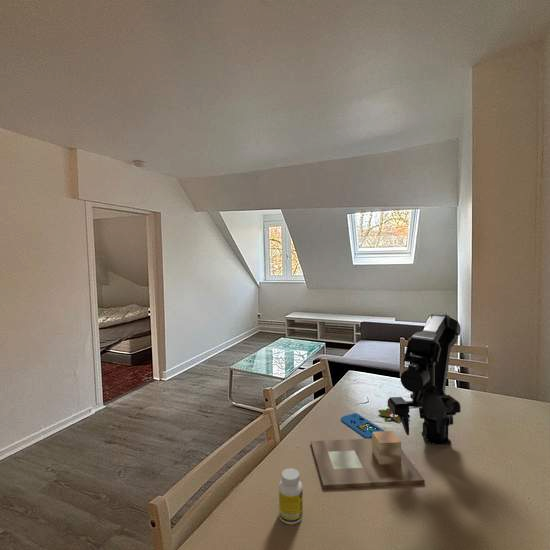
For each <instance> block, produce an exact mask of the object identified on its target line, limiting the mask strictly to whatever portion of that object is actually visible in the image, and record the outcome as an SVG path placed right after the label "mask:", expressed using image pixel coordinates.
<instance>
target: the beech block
mask: <svg viewBox="0 0 550 550" xmlns="http://www.w3.org/2000/svg"><path fill="white" fill-rule="evenodd" d="M401 449H402V441H401V440H400V439H399V437H398V436H397V435H396V434H395V432H394V430H388V431H387V430H384V431H379V432H372V452H373V454H374V455H375V457H376V459H377V461H378V462H379V464H401Z"/></svg>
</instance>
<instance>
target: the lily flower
mask: <svg viewBox="0 0 550 550" xmlns="http://www.w3.org/2000/svg"><path fill="white" fill-rule="evenodd" d="M387 407H388V404H387ZM378 411H379V412H380V413H379V414H378V415H377V417H383V416H384V421H385V422H389V421H396V422H397V423H398V424H399V425H400V424H401V420H400V417H399V416H397V415H395V414H394V413H393V412H392V411H391V409H390V408H389V407H388V408H386V409H378ZM395 417H396V418H395ZM389 418H390V419H389ZM410 421H411V420H410V419H409V422H410Z"/></svg>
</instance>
